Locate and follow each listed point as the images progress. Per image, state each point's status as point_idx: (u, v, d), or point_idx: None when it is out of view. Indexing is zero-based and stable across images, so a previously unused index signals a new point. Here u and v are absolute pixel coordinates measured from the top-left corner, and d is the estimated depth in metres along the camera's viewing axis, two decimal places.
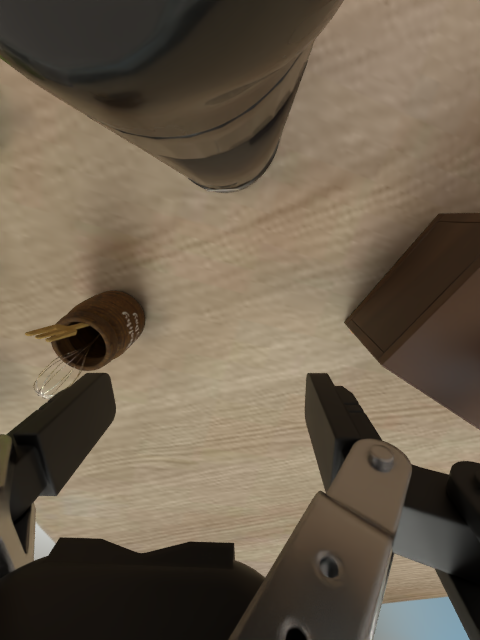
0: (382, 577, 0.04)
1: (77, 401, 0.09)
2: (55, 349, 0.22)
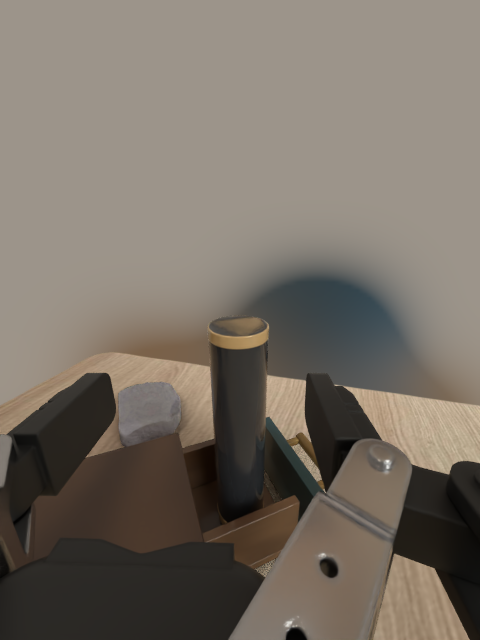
0: (382, 577, 0.04)
1: (77, 401, 0.09)
2: None
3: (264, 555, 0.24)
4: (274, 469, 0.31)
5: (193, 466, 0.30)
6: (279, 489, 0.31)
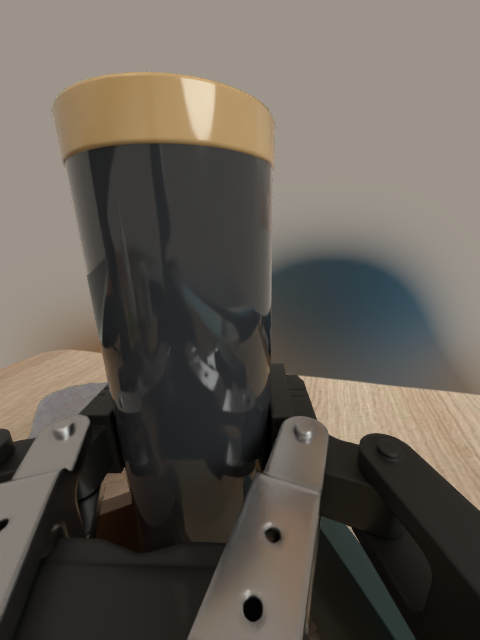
0: (315, 528, 0.04)
1: None
2: None
3: None
4: None
5: (118, 542, 0.14)
6: None
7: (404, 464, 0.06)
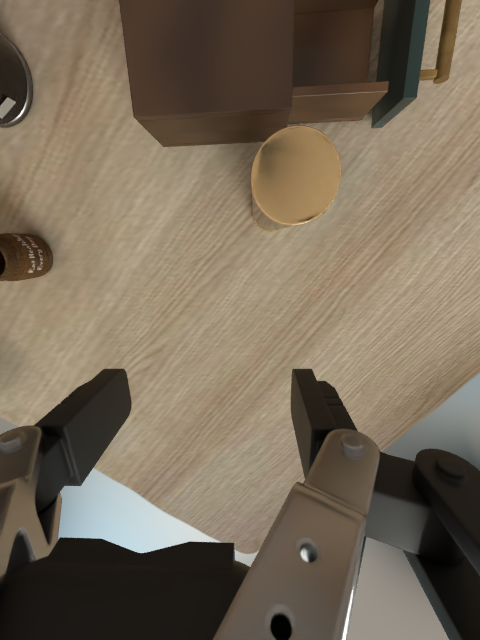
0: (357, 556, 0.04)
1: (98, 395, 0.09)
2: None
3: (334, 117, 0.29)
4: (391, 27, 0.26)
5: None
6: (382, 55, 0.28)
7: (471, 485, 0.05)
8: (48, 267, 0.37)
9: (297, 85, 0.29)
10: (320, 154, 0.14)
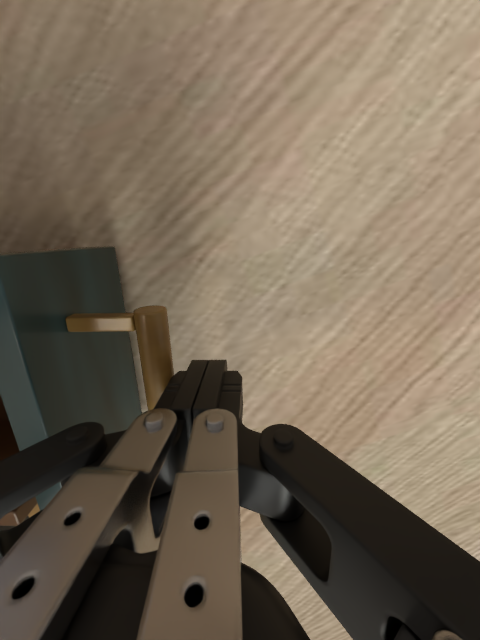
0: (238, 500, 0.05)
1: (200, 383, 0.10)
2: None
3: None
4: None
5: None
6: None
7: (293, 451, 0.06)
8: None
9: None
10: None
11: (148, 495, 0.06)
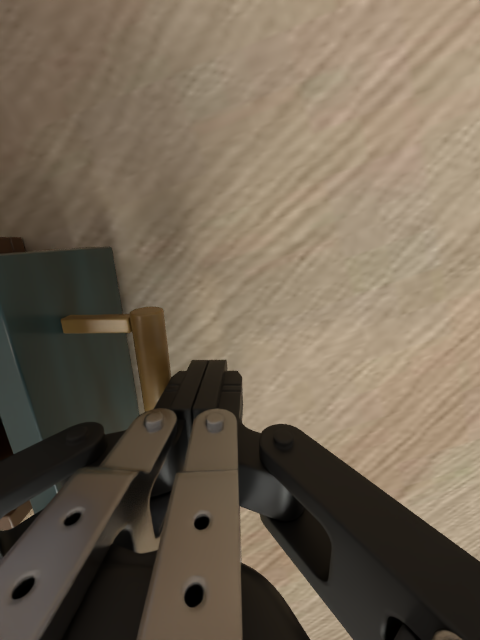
0: (238, 500, 0.05)
1: (200, 383, 0.10)
2: None
3: None
4: None
5: None
6: None
7: (293, 451, 0.06)
8: None
9: None
10: None
11: (148, 495, 0.06)
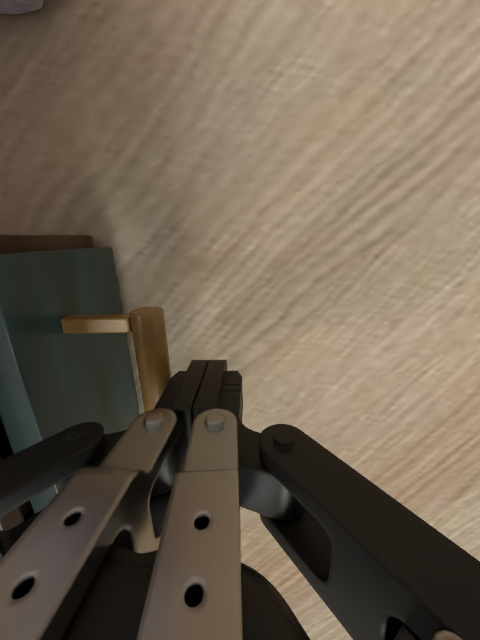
0: (238, 500, 0.05)
1: (200, 383, 0.10)
2: None
3: None
4: None
5: None
6: None
7: (293, 451, 0.06)
8: None
9: None
10: None
11: (148, 495, 0.06)
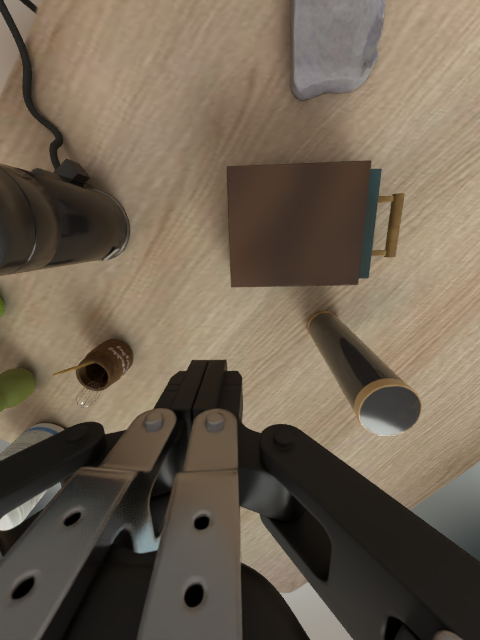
0: (238, 500, 0.05)
1: (200, 383, 0.10)
2: (84, 385, 0.38)
3: None
4: None
5: None
6: None
7: (293, 451, 0.06)
8: None
9: None
10: (408, 400, 0.21)
11: (148, 495, 0.06)
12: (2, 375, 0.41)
